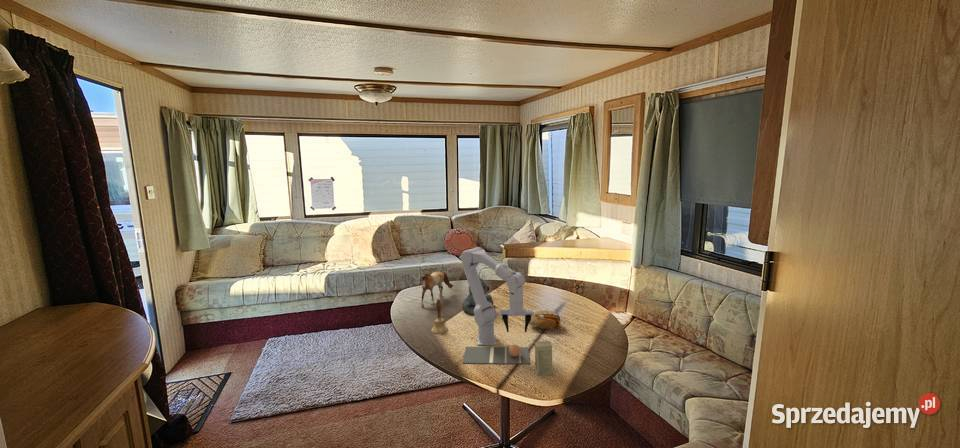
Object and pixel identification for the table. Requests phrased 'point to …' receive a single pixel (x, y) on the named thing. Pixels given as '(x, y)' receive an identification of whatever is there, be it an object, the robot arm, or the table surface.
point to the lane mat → (494, 356)
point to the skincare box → (543, 358)
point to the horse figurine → (434, 283)
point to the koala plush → (469, 301)
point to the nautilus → (546, 320)
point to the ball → (514, 350)
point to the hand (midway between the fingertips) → (516, 331)
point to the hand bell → (439, 321)
